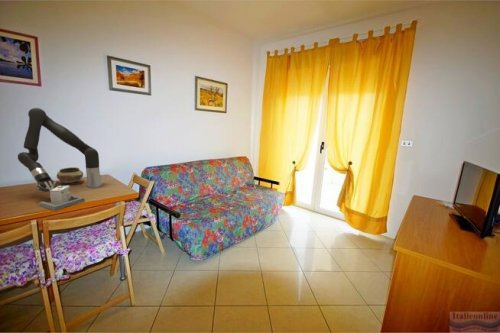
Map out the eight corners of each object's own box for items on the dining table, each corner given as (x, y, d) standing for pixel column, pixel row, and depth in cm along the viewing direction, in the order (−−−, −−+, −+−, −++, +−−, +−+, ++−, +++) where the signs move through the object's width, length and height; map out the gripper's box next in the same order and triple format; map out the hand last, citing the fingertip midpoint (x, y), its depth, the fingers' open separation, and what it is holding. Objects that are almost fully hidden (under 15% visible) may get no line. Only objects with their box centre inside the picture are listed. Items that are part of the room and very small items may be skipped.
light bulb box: (60, 199, 155) (59, 185, 152) (71, 199, 156) (70, 185, 154) (51, 205, 144) (49, 190, 142) (62, 205, 146) (60, 190, 144)
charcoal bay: (69, 197, 159) (69, 194, 159) (84, 201, 154) (84, 198, 154) (39, 205, 143) (39, 202, 142) (55, 210, 138) (54, 206, 137)
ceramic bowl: (54, 185, 189) (46, 170, 183) (75, 176, 204) (69, 162, 197) (72, 190, 181) (65, 174, 174) (92, 180, 196) (86, 165, 189)
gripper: (30, 174, 144) (44, 194, 143) (53, 170, 156) (67, 189, 155) (27, 180, 147) (41, 200, 145) (50, 176, 159) (63, 194, 158)
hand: (54, 194), depth 150 cm, fingers closed
